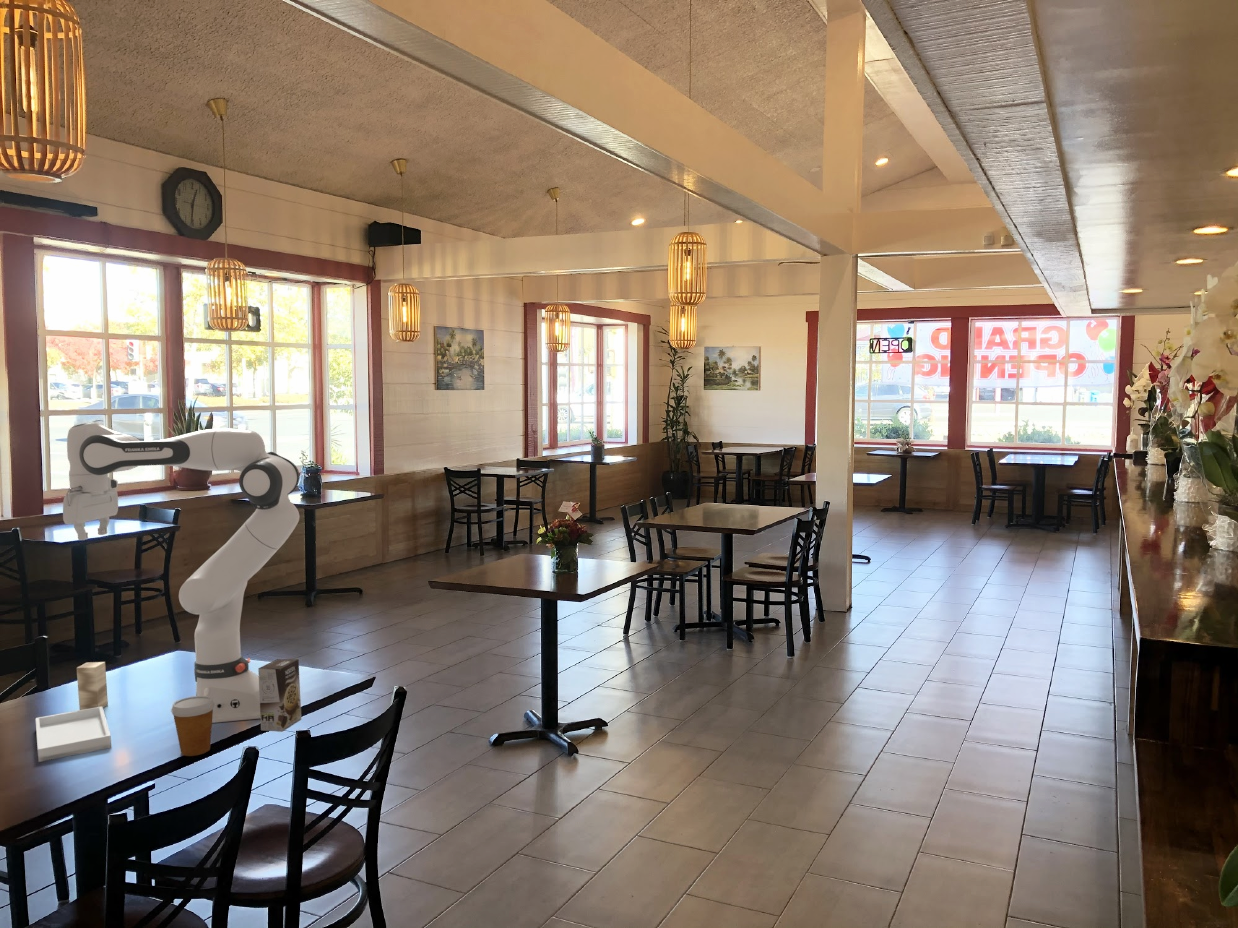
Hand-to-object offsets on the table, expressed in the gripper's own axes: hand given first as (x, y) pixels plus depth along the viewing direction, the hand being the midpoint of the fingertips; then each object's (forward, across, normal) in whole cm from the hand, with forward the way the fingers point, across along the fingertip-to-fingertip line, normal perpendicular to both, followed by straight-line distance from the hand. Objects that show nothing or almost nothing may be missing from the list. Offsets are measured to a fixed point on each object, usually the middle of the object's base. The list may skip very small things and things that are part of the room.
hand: (93, 537), depth 247 cm
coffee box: (+49, -11, -50) cm, 71 cm away
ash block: (+48, +6, +7) cm, 49 cm away
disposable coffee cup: (+49, -27, -36) cm, 66 cm away
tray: (+48, -16, 0) cm, 51 cm away
